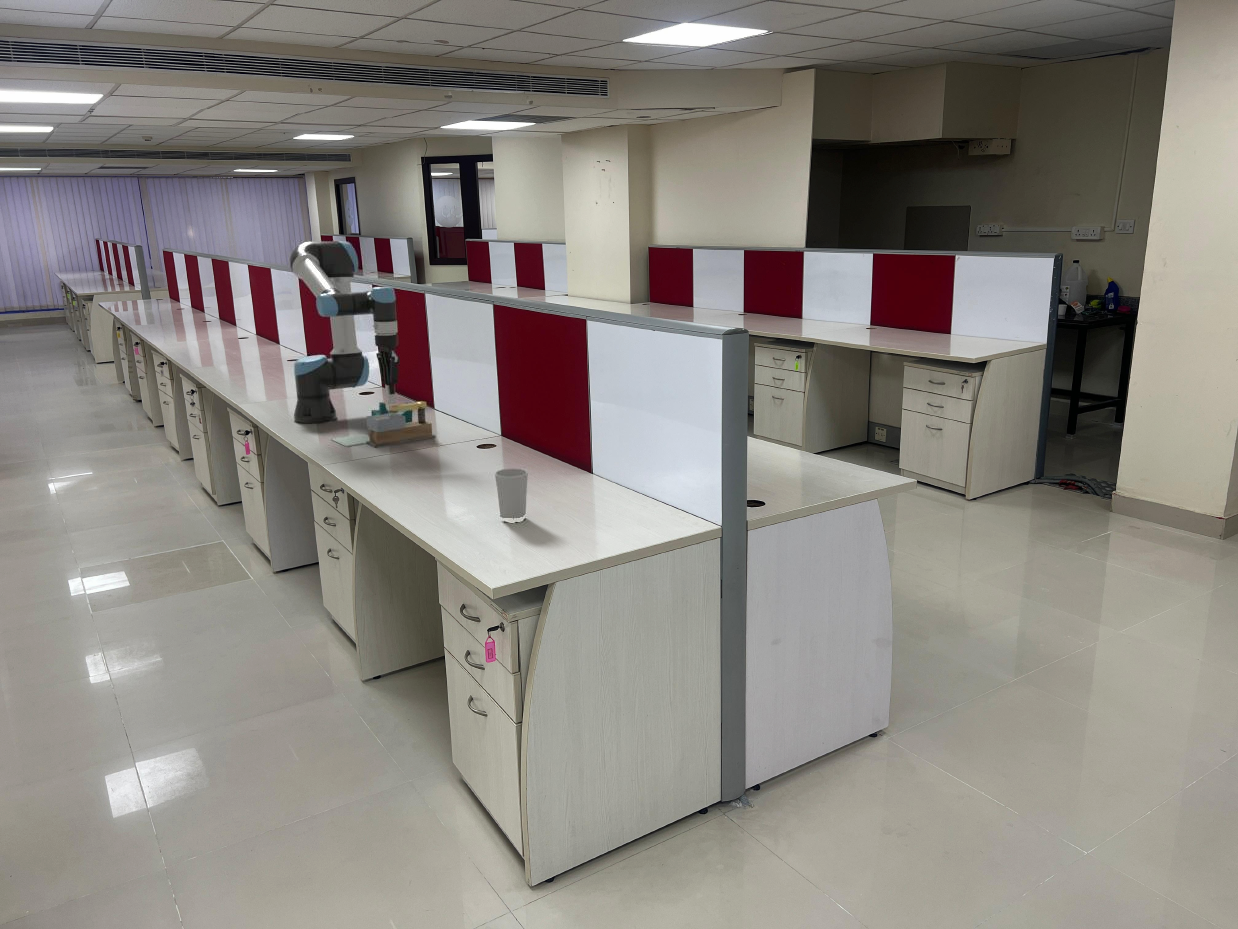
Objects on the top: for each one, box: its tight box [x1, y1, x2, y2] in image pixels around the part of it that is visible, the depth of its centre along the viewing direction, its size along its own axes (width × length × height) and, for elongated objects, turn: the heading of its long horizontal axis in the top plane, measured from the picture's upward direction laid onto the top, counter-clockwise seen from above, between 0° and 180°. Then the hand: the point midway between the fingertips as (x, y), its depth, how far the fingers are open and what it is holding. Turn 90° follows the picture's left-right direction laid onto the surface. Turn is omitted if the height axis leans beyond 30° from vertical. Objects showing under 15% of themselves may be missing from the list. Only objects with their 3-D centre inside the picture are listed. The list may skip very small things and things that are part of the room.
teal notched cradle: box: [370, 401, 414, 423], centre depth 316 cm, size 18×11×10 cm, turn 25°
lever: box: [388, 401, 427, 413], centre depth 298 cm, size 4×13×2 cm, turn 130°
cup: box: [494, 467, 529, 519], centre depth 217 cm, size 8×8×12 cm
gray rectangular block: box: [366, 413, 406, 432], centre depth 294 cm, size 8×10×4 cm
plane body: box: [365, 409, 437, 448], centre depth 298 cm, size 7×22×10 cm, turn 130°
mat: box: [331, 433, 370, 448], centre depth 299 cm, size 12×12×1 cm
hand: (391, 403), depth 302 cm, fingers closed
